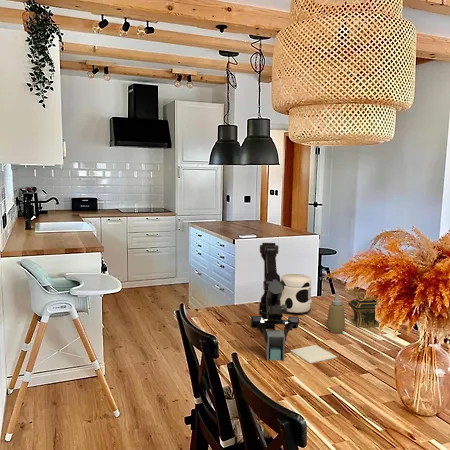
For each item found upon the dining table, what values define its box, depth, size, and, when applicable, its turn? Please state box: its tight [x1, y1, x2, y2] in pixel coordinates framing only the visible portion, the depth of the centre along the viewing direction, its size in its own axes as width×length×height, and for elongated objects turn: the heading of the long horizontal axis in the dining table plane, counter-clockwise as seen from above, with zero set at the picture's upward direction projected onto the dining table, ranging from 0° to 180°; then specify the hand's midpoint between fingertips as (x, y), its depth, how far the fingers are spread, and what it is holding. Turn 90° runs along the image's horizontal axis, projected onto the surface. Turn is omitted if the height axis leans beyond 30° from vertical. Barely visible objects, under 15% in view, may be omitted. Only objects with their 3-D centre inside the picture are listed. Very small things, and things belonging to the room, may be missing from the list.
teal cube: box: [269, 346, 282, 361], centre depth 168 cm, size 4×4×4 cm
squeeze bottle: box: [326, 292, 346, 334], centre depth 197 cm, size 8×8×18 cm
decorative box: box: [345, 287, 380, 328], centre depth 206 cm, size 20×10×20 cm, turn 99°
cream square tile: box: [290, 344, 338, 364], centre depth 172 cm, size 13×13×1 cm
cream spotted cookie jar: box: [280, 273, 313, 315], centre depth 225 cm, size 17×17×18 cm
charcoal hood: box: [265, 329, 286, 362], centre depth 168 cm, size 6×6×10 cm
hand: (275, 342), depth 166 cm, fingers closed on charcoal hood, 6 cm apart
